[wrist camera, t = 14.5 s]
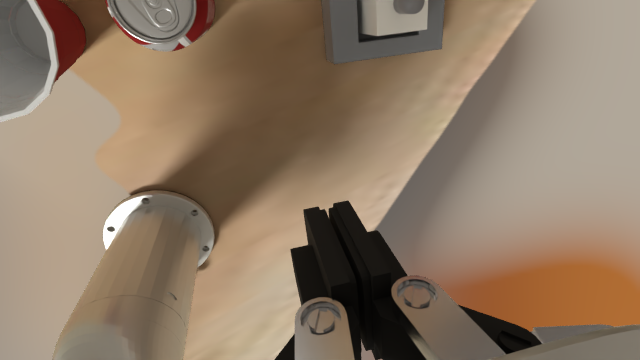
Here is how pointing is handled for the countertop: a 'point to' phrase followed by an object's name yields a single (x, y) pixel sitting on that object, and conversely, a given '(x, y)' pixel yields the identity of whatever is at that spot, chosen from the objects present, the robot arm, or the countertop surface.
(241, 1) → the countertop surface
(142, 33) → the soda can
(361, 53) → the socket plate
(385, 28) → the plug
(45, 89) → the plastic cup
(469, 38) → the countertop surface
